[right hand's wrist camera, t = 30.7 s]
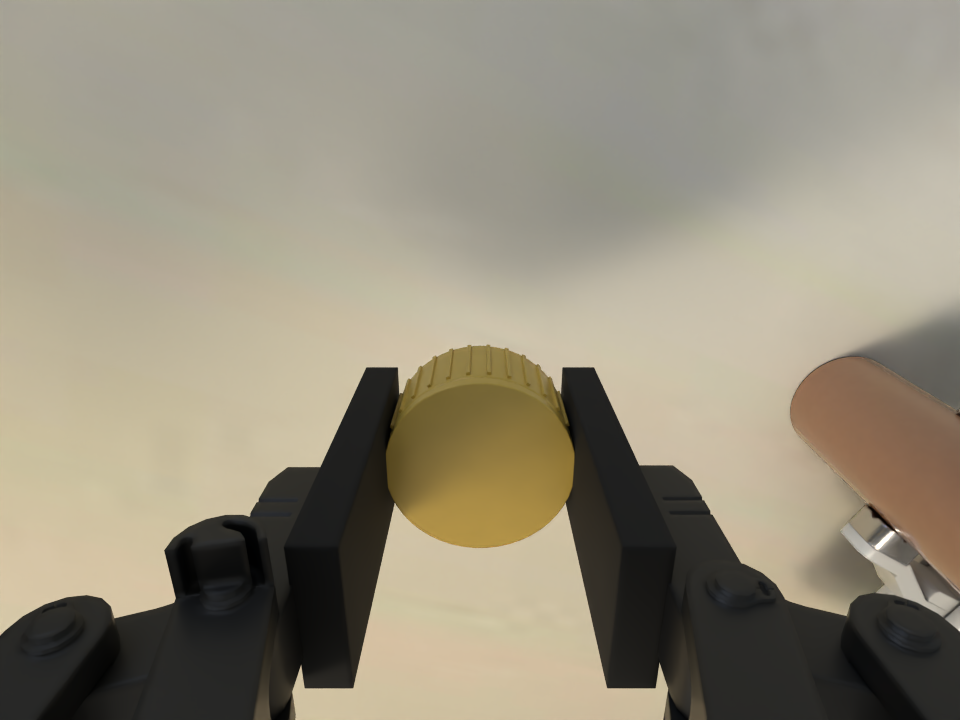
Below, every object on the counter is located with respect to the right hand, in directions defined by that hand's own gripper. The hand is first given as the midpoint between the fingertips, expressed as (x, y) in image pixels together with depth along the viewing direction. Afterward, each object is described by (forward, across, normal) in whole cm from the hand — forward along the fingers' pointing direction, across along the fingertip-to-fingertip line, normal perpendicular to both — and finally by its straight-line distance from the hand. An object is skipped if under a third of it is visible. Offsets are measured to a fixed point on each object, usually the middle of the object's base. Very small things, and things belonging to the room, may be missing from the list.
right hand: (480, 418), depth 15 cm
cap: (-2, 0, 0) cm, 2 cm away
